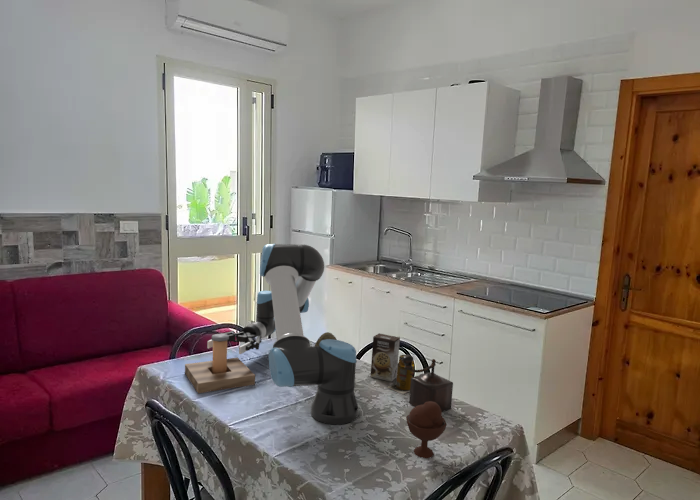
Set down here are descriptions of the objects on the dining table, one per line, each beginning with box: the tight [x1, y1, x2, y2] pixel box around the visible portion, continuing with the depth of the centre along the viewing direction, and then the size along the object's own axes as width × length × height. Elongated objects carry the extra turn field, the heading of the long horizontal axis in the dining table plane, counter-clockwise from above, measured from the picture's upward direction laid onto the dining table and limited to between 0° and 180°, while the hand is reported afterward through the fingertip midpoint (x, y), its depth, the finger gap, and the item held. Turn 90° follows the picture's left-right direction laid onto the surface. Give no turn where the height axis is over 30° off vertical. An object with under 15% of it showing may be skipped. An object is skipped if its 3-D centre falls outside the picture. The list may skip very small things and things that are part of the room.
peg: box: [211, 333, 229, 374], centre depth 177 cm, size 6×6×16 cm
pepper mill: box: [402, 354, 454, 412], centre depth 162 cm, size 16×11×18 cm
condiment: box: [387, 354, 415, 395], centre depth 178 cm, size 7×8×12 cm
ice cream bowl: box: [405, 401, 448, 459], centre depth 133 cm, size 11×11×15 cm
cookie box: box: [370, 333, 401, 382], centre depth 188 cm, size 9×6×16 cm
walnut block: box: [184, 357, 256, 394], centre depth 177 cm, size 20×20×4 cm
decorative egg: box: [314, 331, 338, 346], centre depth 193 cm, size 11×11×15 cm
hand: (223, 347), depth 179 cm, fingers open, 13 cm apart
